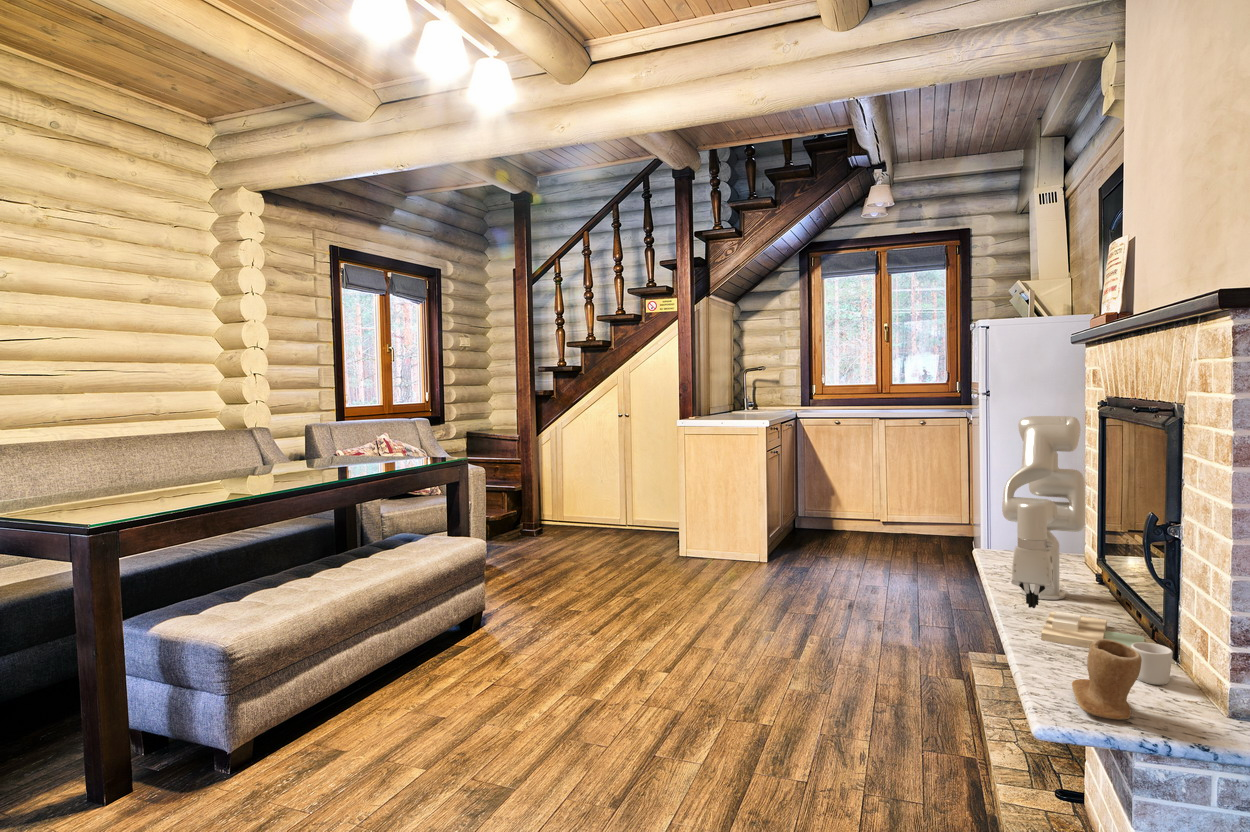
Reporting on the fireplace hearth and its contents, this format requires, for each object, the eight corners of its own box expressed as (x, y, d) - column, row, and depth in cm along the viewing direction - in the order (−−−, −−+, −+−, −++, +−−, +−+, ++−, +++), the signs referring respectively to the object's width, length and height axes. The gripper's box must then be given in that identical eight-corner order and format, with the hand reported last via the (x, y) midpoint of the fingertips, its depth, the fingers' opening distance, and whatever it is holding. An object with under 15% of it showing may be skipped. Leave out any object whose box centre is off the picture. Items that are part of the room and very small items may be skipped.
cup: (1137, 668, 177) (1137, 636, 177) (1177, 676, 171) (1177, 644, 171) (1127, 681, 169) (1127, 648, 169) (1169, 691, 164) (1169, 656, 163)
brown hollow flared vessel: (1146, 729, 147) (1146, 657, 146) (1078, 718, 152) (1078, 649, 151) (1133, 699, 160) (1133, 634, 159) (1070, 690, 165) (1070, 627, 165)
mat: (1105, 632, 202) (1105, 630, 202) (1144, 638, 196) (1144, 636, 196) (1101, 652, 187) (1101, 650, 187) (1143, 659, 182) (1143, 657, 182)
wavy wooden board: (1051, 618, 215) (1051, 611, 215) (1106, 626, 206) (1106, 619, 206) (1041, 639, 197) (1041, 632, 197) (1101, 650, 189) (1101, 642, 189)
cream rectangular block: (1056, 618, 209) (1056, 611, 209) (1080, 621, 205) (1080, 614, 205) (1052, 627, 201) (1052, 620, 201) (1077, 631, 197) (1077, 624, 197)
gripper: (1063, 545, 206) (1063, 608, 206) (1005, 539, 215) (1005, 599, 215) (1060, 549, 200) (1060, 614, 200) (1001, 543, 209) (1001, 605, 209)
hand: (1032, 606), depth 207 cm, fingers closed
